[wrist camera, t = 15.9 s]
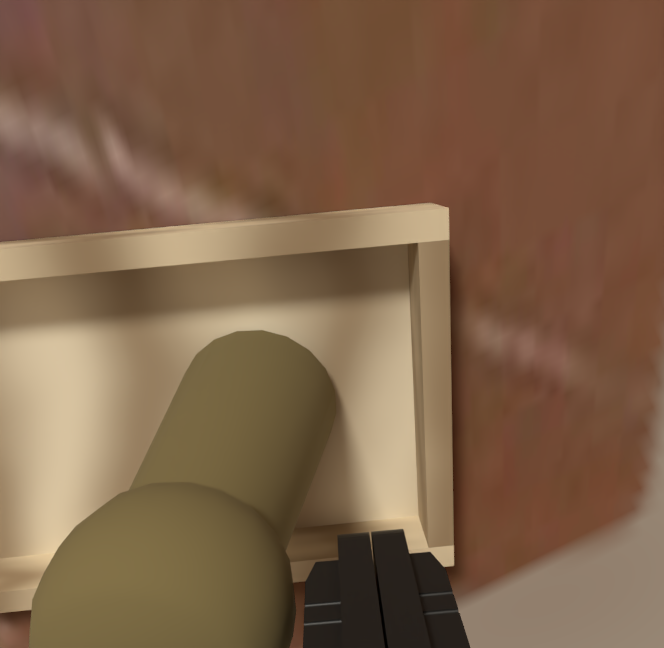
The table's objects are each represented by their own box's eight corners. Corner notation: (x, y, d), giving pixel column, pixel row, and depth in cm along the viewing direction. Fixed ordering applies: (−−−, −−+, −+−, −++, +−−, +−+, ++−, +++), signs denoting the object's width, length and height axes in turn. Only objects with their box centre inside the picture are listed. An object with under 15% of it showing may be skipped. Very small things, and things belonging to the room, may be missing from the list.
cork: (150, 376, 19) (-108, 636, 9) (282, 300, 18) (169, 496, 7) (237, 494, 21) (107, 839, 10) (365, 431, 19) (369, 751, 9)
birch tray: (-104, 578, 22) (-155, 629, 19) (-242, 264, 18) (-327, 279, 15) (438, 523, 22) (454, 565, 20) (430, 202, 18) (448, 208, 16)
